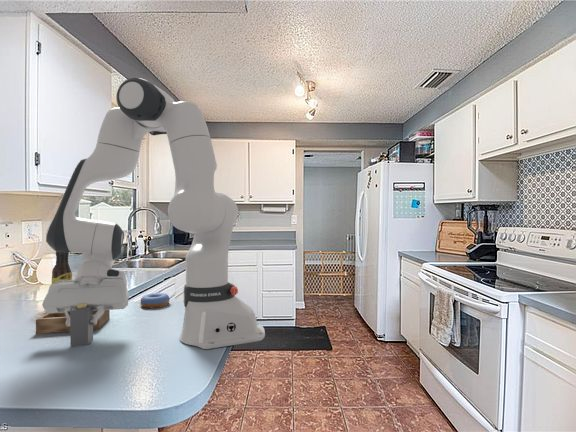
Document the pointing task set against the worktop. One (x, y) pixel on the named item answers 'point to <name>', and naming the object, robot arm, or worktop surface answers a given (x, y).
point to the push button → (81, 325)
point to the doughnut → (154, 300)
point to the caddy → (63, 322)
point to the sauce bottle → (61, 268)
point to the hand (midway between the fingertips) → (81, 324)
